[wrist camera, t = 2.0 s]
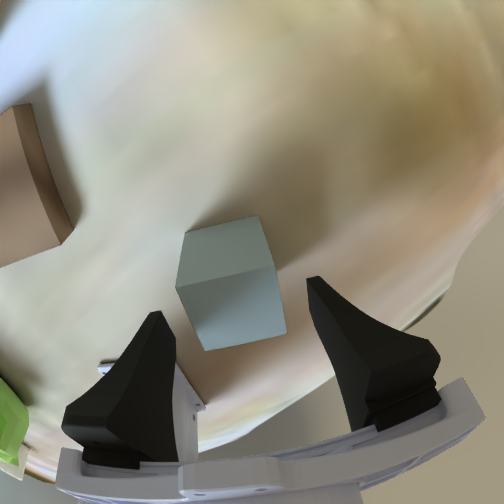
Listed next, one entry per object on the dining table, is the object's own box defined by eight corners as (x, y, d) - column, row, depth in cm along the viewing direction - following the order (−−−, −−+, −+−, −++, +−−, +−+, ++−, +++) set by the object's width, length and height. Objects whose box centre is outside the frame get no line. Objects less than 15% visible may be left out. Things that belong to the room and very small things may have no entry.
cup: (-13, 422, 34) (-22, 454, 25) (28, 446, 38) (21, 479, 30) (-8, 431, 36) (-16, 460, 28) (29, 452, 41) (23, 482, 32)
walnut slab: (76, 227, 16) (60, 245, 14) (1, 256, 16) (-14, 273, 14) (34, 102, 12) (12, 106, 10) (-37, 158, 12) (-57, 168, 10)
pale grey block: (270, 275, 19) (287, 333, 15) (205, 289, 19) (204, 351, 15) (257, 214, 17) (274, 264, 12) (185, 232, 17) (175, 287, 12)
